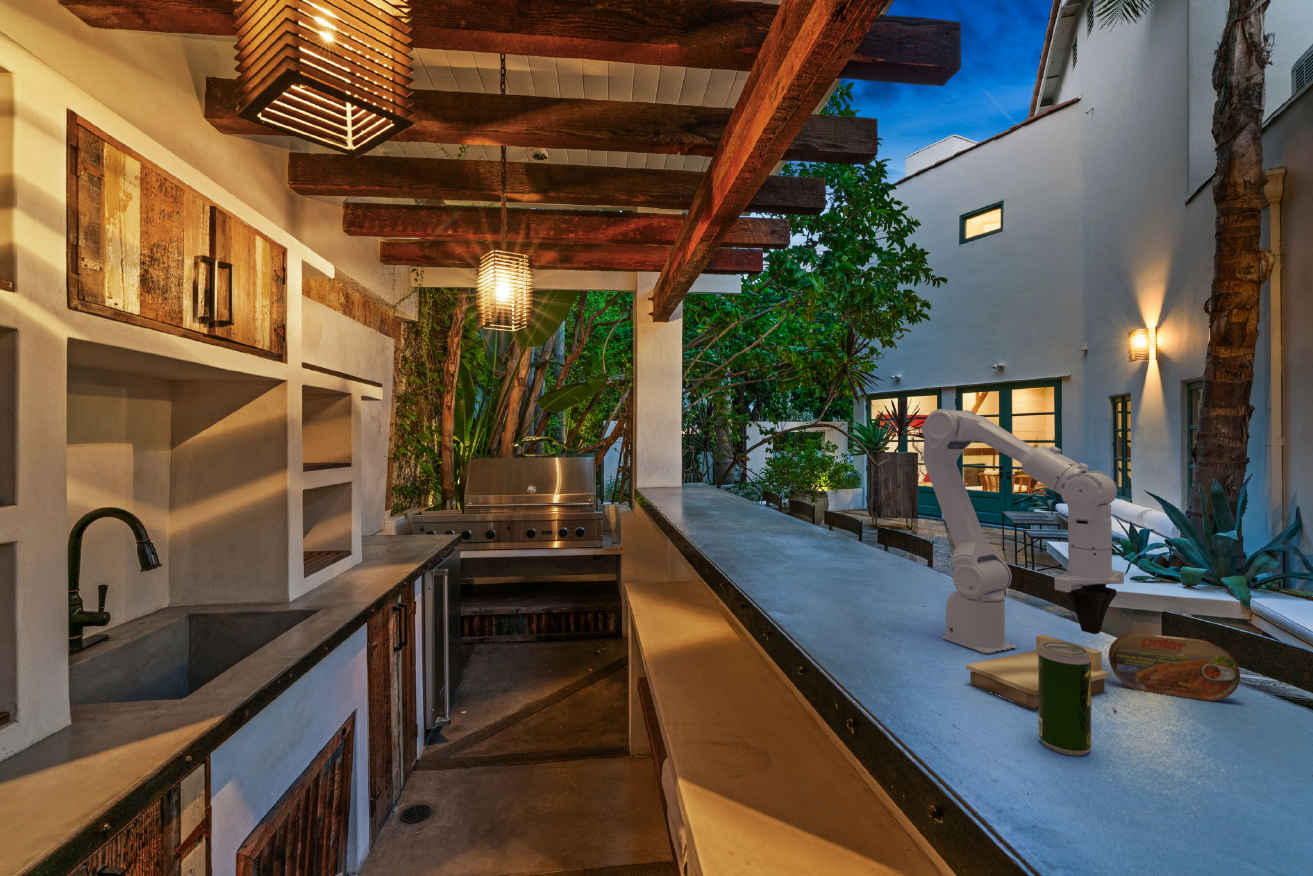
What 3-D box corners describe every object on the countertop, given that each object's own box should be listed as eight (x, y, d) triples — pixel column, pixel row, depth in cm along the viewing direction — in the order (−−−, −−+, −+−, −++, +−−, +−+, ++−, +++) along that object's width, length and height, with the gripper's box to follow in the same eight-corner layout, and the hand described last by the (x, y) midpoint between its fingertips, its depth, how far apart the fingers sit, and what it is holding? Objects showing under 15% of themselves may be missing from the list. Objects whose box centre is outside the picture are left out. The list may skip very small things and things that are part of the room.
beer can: (1046, 753, 73) (1045, 653, 73) (1033, 733, 78) (1032, 639, 78) (1098, 760, 71) (1098, 658, 71) (1081, 739, 76) (1081, 643, 77)
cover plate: (966, 669, 94) (966, 646, 94) (1038, 654, 101) (1038, 632, 101) (1034, 696, 84) (1034, 670, 84) (1108, 677, 91) (1108, 653, 91)
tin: (1110, 687, 93) (1110, 631, 93) (1106, 679, 96) (1106, 626, 96) (1241, 707, 86) (1241, 647, 86) (1233, 698, 89) (1232, 640, 89)
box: (970, 684, 94) (970, 671, 94) (1039, 669, 100) (1038, 657, 100) (1033, 710, 84) (1033, 696, 84) (1104, 691, 91) (1104, 678, 91)
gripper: (1087, 554, 91) (1088, 645, 91) (1144, 547, 97) (1145, 633, 97) (1041, 547, 98) (1042, 632, 97) (1097, 541, 103) (1098, 621, 103)
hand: (1090, 632), depth 98 cm, fingers closed
